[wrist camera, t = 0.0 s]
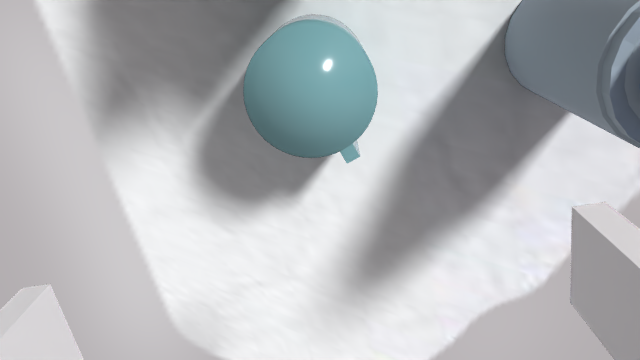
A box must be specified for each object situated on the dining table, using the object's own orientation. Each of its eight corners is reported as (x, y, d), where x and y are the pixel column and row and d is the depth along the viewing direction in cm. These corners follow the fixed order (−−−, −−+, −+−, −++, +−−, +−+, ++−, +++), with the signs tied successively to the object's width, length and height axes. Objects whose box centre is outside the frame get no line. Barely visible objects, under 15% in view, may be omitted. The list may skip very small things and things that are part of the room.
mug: (242, 49, 38) (217, 69, 29) (333, -7, 36) (336, -4, 27) (306, 152, 41) (300, 199, 32) (392, 104, 39) (412, 140, 30)
